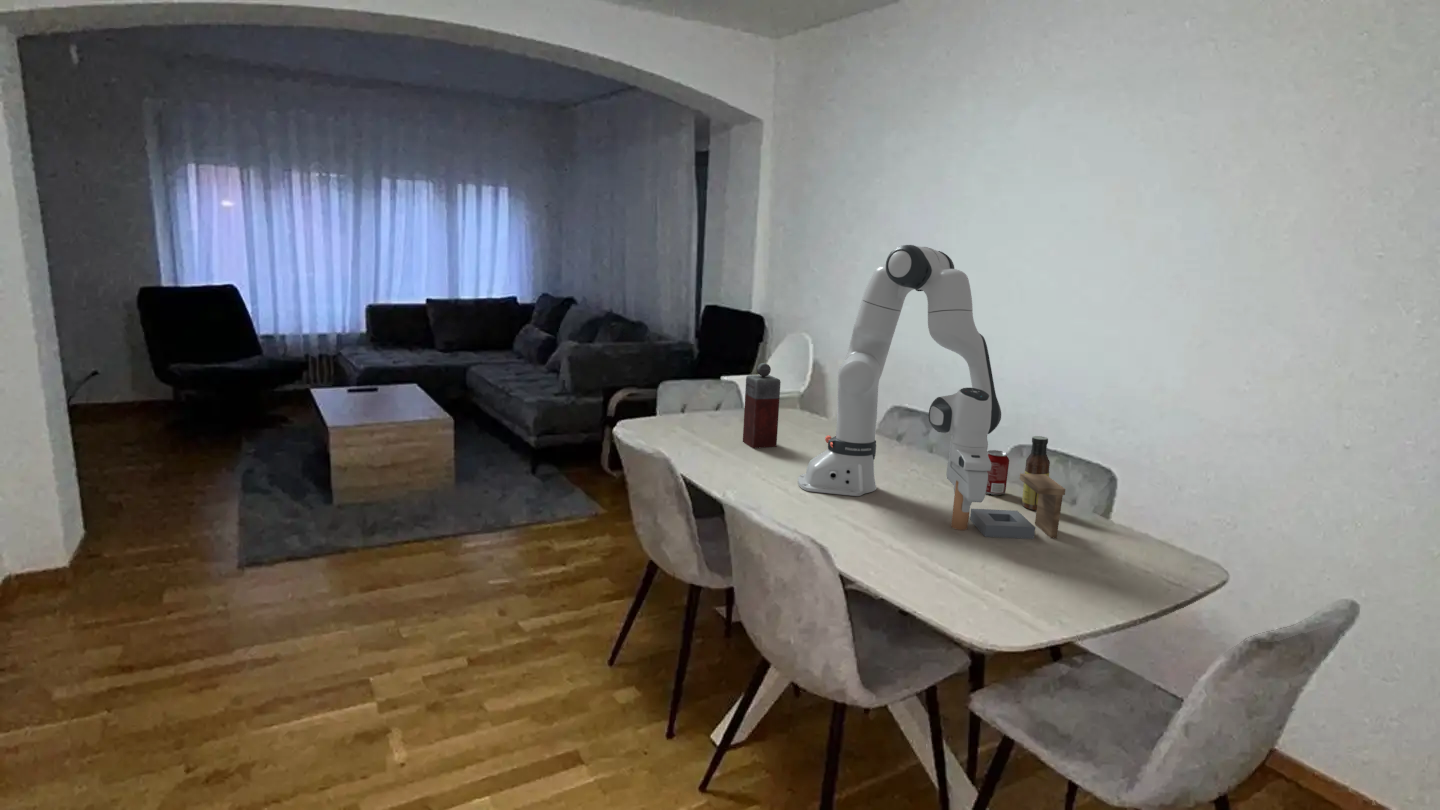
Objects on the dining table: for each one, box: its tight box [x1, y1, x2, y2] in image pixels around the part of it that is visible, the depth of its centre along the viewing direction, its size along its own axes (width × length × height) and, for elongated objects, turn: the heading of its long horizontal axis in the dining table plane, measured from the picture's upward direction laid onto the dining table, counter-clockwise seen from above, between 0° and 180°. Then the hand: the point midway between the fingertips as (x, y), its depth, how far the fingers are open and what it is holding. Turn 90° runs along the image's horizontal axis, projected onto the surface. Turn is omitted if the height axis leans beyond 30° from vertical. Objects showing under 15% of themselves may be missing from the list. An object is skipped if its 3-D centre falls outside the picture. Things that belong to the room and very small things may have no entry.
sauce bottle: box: [1021, 435, 1051, 511], centre depth 214 cm, size 7×6×20 cm
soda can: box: [985, 449, 1010, 496], centre depth 227 cm, size 7×7×12 cm
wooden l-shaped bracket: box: [1019, 472, 1066, 539], centre depth 197 cm, size 6×12×13 cm, turn 0°
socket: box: [969, 508, 1036, 540], centre depth 198 cm, size 12×12×3 cm
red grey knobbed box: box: [742, 362, 782, 449], centre depth 268 cm, size 9×11×28 cm
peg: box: [950, 480, 971, 531], centre depth 197 cm, size 4×4×12 cm
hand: (961, 507), depth 197 cm, fingers closed on peg, 4 cm apart
